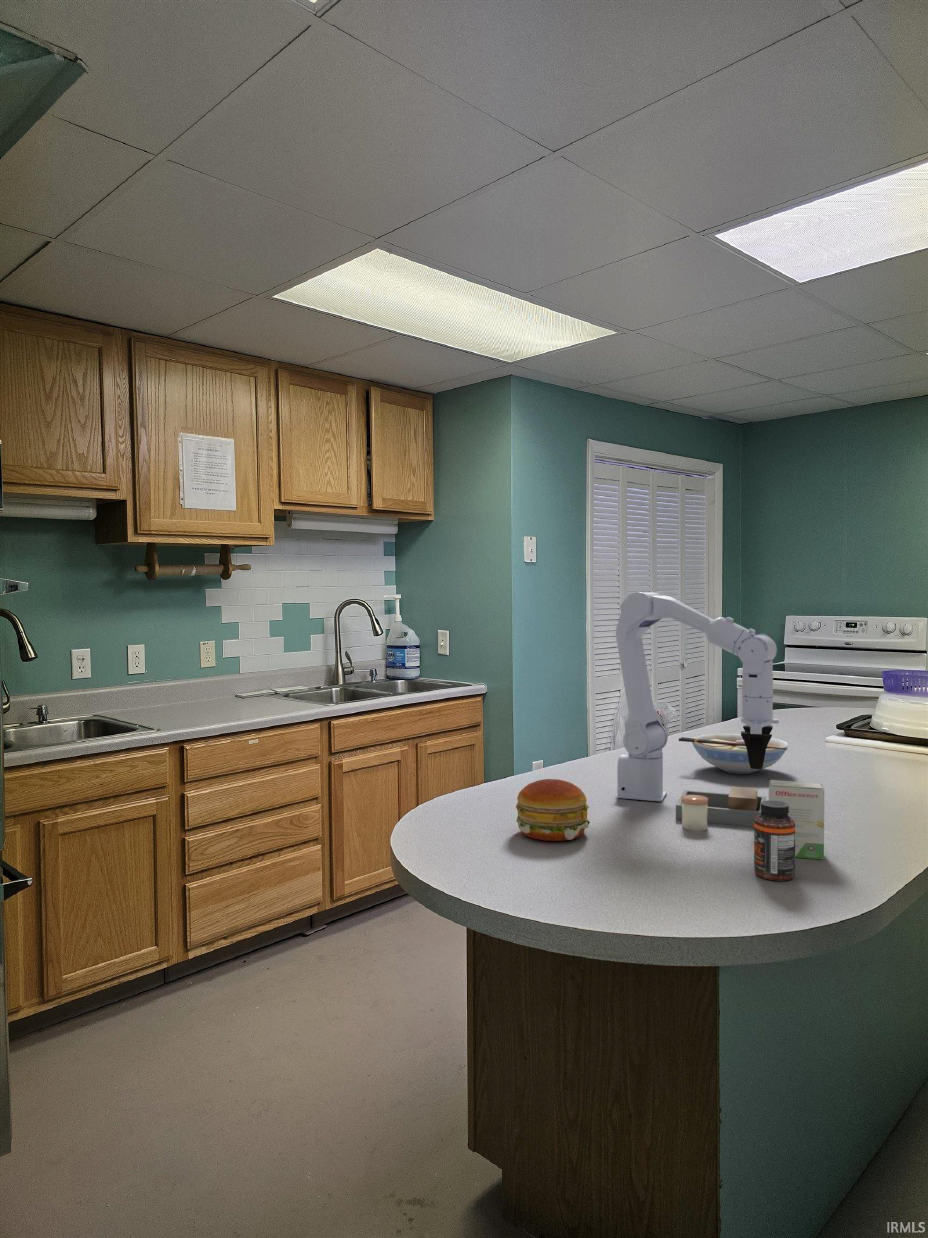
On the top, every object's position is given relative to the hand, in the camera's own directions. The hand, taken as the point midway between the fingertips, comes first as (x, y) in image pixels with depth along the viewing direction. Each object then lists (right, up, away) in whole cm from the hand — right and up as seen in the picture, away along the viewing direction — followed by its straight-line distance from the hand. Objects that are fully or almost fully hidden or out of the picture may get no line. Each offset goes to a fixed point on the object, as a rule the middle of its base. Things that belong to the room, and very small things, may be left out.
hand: (756, 765), depth 161 cm
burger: (-42, -11, -12) cm, 45 cm away
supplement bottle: (-10, -11, -35) cm, 38 cm away
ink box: (-2, -11, -24) cm, 27 cm away
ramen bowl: (+10, -9, +40) cm, 42 cm away
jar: (-15, -10, -8) cm, 20 cm away
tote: (-7, -10, 0) cm, 12 cm away
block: (-3, -10, -2) cm, 11 cm away
